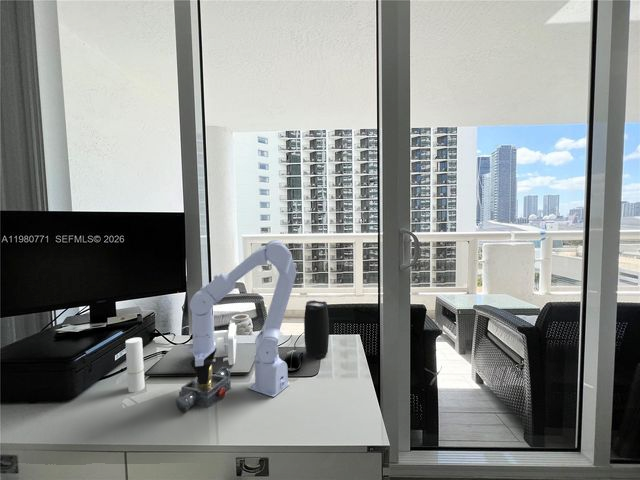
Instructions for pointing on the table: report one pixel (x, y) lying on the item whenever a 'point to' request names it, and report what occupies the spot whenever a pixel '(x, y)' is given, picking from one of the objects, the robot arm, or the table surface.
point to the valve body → (204, 391)
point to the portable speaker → (316, 329)
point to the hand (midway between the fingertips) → (205, 379)
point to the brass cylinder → (209, 384)
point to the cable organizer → (226, 343)
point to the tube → (135, 364)
